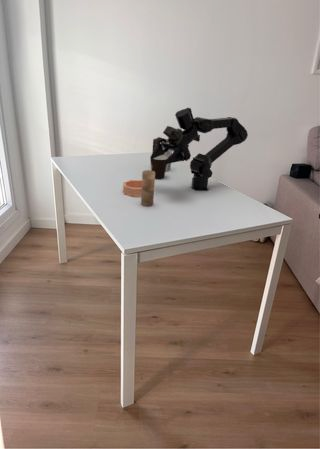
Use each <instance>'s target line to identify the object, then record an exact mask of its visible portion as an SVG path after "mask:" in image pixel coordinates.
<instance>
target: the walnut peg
mask: <svg viewBox="0 0 320 449" xmlns="http://www.w3.org/2000/svg"><path fill="white" fill-rule="evenodd" d="M141 175H142V176H141V177H142V179H141V180H142V194H141V197H140V205H141V206H143V207H152V206H154V198H155V180H156V179H155V172H154V171H151V169H149V170H143V171H142V174H141Z"/></svg>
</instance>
